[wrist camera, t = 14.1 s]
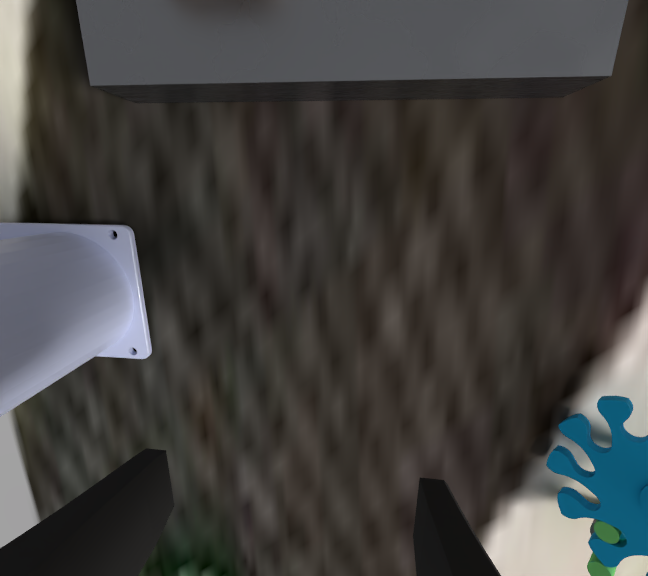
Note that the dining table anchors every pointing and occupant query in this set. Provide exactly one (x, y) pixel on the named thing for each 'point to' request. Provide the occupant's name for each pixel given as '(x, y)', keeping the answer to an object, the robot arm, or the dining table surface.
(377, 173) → the dining table surface
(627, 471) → the gear
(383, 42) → the rail block
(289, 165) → the dining table surface
